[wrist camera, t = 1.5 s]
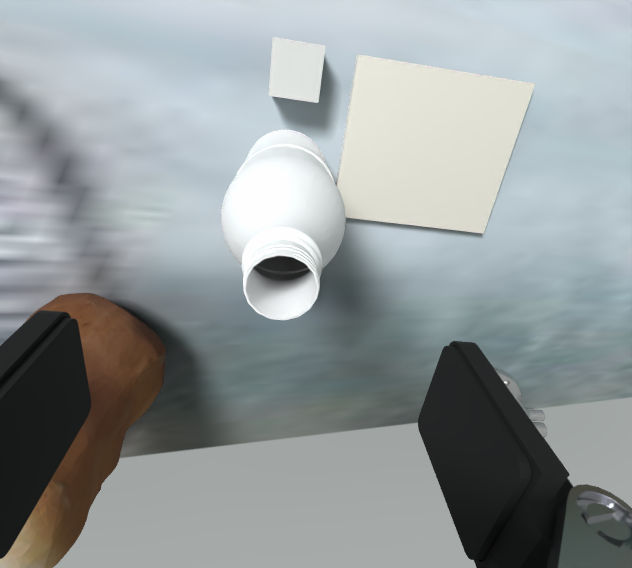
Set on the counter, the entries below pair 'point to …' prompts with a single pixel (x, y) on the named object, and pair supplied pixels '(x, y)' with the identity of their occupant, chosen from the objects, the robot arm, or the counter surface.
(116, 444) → the butternut squash
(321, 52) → the pale grey block
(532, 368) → the counter surface
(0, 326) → the counter surface
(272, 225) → the water bottle
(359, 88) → the placemat
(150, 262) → the counter surface
